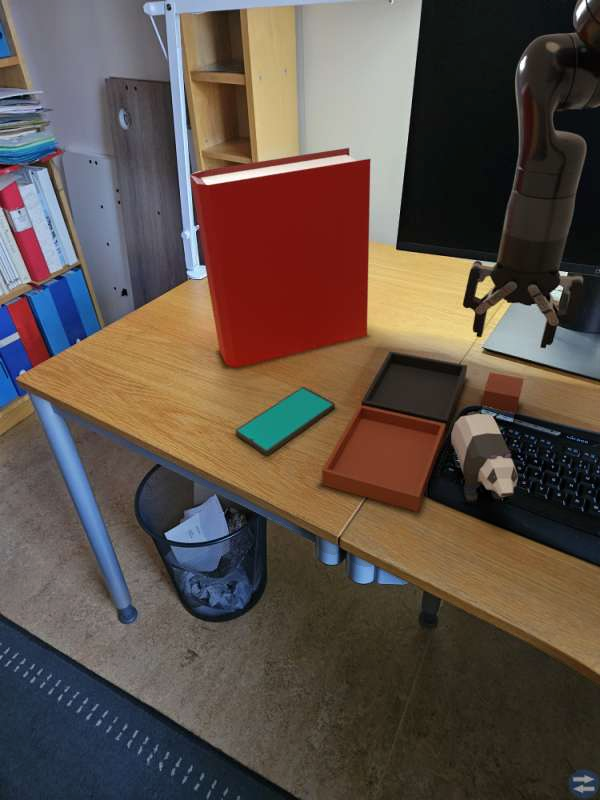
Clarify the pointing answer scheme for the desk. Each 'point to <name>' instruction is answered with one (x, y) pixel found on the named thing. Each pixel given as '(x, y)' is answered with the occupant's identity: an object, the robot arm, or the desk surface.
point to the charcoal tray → (417, 387)
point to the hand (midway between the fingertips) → (511, 339)
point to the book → (285, 253)
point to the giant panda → (483, 455)
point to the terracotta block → (502, 392)
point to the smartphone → (284, 420)
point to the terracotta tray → (385, 457)
